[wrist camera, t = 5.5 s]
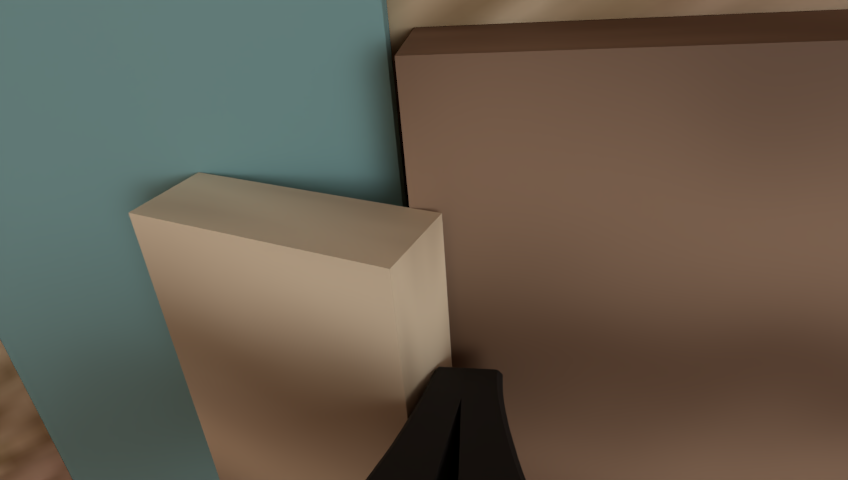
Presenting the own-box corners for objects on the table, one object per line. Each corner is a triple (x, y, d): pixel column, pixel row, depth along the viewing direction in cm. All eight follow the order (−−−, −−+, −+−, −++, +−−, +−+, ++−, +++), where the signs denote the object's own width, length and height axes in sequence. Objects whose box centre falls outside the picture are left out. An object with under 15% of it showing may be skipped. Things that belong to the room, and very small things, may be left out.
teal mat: (438, 522, 20) (436, 533, 20) (90, 491, 22) (83, 501, 22) (383, -27, 12) (379, -23, 12) (-154, 3, 14) (-171, 8, 14)
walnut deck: (812, 532, 18) (840, 603, 16) (452, 502, 20) (444, 563, 18) (1001, 3, 11) (1086, 32, 9) (414, 27, 13) (394, 55, 11)
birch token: (460, 497, 16) (425, 567, 15) (267, 427, 19) (220, 481, 17) (441, 213, 12) (390, 268, 11) (198, 172, 15) (128, 213, 13)
